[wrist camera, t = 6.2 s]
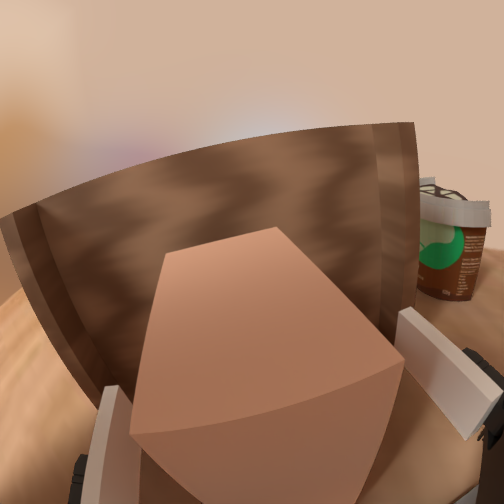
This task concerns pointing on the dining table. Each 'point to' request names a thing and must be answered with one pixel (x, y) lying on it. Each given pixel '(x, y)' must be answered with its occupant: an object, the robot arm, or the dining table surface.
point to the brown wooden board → (218, 234)
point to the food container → (450, 241)
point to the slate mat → (469, 497)
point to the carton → (261, 377)
